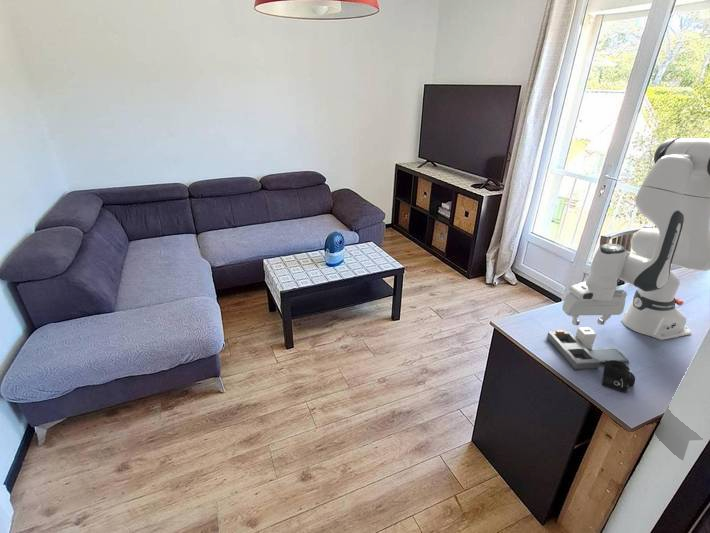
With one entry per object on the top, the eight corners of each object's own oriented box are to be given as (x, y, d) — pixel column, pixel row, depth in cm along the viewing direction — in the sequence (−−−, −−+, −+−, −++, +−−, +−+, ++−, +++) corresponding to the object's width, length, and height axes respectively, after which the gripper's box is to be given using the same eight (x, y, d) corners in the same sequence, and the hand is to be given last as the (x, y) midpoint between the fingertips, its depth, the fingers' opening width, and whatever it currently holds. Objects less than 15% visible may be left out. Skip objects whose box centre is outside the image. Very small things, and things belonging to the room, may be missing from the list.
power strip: (567, 337, 140) (569, 329, 138) (597, 369, 124) (600, 360, 122) (546, 338, 139) (548, 330, 138) (574, 370, 123) (577, 361, 122)
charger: (584, 341, 137) (589, 326, 134) (591, 348, 134) (596, 333, 131) (573, 341, 137) (578, 326, 134) (580, 348, 133) (585, 333, 130)
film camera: (605, 348, 125) (641, 356, 117) (606, 367, 127) (642, 375, 119) (591, 368, 117) (628, 377, 110) (592, 388, 119) (629, 398, 112)
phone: (615, 351, 132) (616, 348, 131) (628, 363, 126) (629, 360, 126) (580, 352, 131) (581, 350, 131) (592, 364, 126) (592, 362, 125)
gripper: (621, 285, 129) (609, 318, 134) (565, 286, 128) (555, 319, 133) (634, 294, 123) (621, 328, 129) (576, 295, 122) (565, 329, 128)
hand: (587, 324), depth 131 cm, fingers open, 8 cm apart
